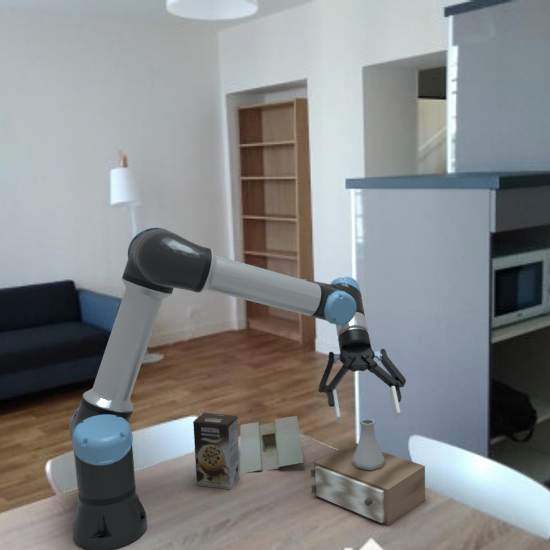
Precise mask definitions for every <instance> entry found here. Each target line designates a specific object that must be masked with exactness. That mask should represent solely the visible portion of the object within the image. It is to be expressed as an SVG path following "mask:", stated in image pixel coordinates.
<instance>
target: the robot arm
mask: <svg viewBox="0 0 550 550" xmlns="http://www.w3.org/2000/svg"><path fill="white" fill-rule="evenodd" d="M121 277H122V278H121V281H122V283H123V284H124V287H125V289H124V291H123V296H122V297H121V301H120V305H119V307H118V311H117V314H116V317H115V320H114V323H113V325H112V329H111V332H110V335H109V337H108V341H107V345H106V346H105V350H104V353H103V356H102V359H101V363H100V365H99V368H98V370H97V371H98V372H97V375H96V377H95V380H94V383H93V386H92V388H91V389H89V390H87V391H85V392H84V393H83V394H82V397H81V401H80V403H79V406H78V408H77V409H75V411H74V413H73V415H72V417H71V420H70V425H69V435H70V439H71V443H72V449H73V456H74V466H75V474H76V486H77V495H78V502H77V506H76V511H75V515H74V518H73V523H72V537H73V539H72V540H73V541H74V543H75V544H76V545H77V546H79V547H81V548H82V549H86V550H115V549H119V548H123V547H125V546H127V545H130V544H131V543H133V542H135V541H137V540H138V539H139V538H140V537H142V536H143V535H144V533H145V532H146V530H147V527H148V517H147V512H146V509H145V507H144V505H143V503H142V501H141V498H140V497H139V494H138V492H137V487H136V474H135V472H136V471H135V459H134V450H133V441H134V440H133V437H134V436H133V433H132V432H133V431H132V430H131V426H130V424H129V423H130V421H131V418H132V414H133V412H134V404H133V403H132V401H131V396H132V393H133V390H134V387H135V384H136V382H137V378H138V375H139V372H140V370H141V366H142V363H143V360H144V358H145V354H146V351H147V347H148V345H149V342H150V340H151V336H152V332H153V329H154V328H155V327H154V326H155V325H156V322H157V321H156V320H157V318H158V314H159V312H160V309H161V306H162V303H163V300H164V299H166V298H168V297H170V296H172V294H173V291H174V290H175V289H178V290H185V291H189V292H194V293H198V294H200V293H203V292H204V291H209V292H213V293H218V294H222V295H225V296H229V297H233V298H238V299H241V300H245V301H250V302H254V303H258V304H260V305H265V306H268V307H273V308H276V309H281V310H285V311H288V312H293V313H296V314H300V315H304V316H308V317H311V318H313V319H314V318H315V319H318V320H322V321H326V322H328V323H329V324H332V325H335V329H336V334H337V342H338V347H339V353H334V352H333V351H329V352H328V357H327V363H326V367H325V370H324V371H323V374H322V378H321V380H320V383H319V385H318V388H317V389H318V392H319V393H325V394H326V396H327V403H328V407H330V408H331V407H333V412H334V418H335V422H340V420H341V419H340V418H341V413H340V412H341V411H340V407H339V405H340V404H339V399H338V392H337V389H336V388H337V386H338V385H339V384H340V382H341V381H342V379H343V378H344V377H345V375H346V374H347V373H348V372H349V371H351V372H359V371H361V372H365V371H366V370H368V371H369V373H371V374H373V375H374V376H375V377H377V378H379V379H380V380H381V381H382V382H383V383H385V385H386V386H388V387H389V388H390V389H389V395H390V400H391V405H392V409H393V415H394V418H399V417H400V414H401V408H400V404H399V403H400V402H401V400H402V393H401V388H404V387H405V385H406V382H407V379H406V377H405V376H404V375H403V374H402V373H401V371H400V370H399V369H398V368H397V366H396V365H395V364H394V363H393V361H392V359H390V357H388V353H387V350H386V349H385V348H381V349H380V350H379V351H374V350H373V349H372V344H371V339H370V334H369V329H368V323H367V320H366V315H365V309H364V305H363V297H362V292H361V288H360V286H359V283H358V281H357V280H356V279H354V278H353V277H350V276H344V277H342V276H341V277H337V278H335V279H334V280H332V281H331V282H330V283H326V282H321V281H315V280H309V279H306V278H304V279H303V278H297V277H295V276H292V275H291V276H290V275H287V274H284V273H281V272H276V271H272V270H269V269H266V268H262V267H258V266H256V265H252V264H248V263H245V262H241V261H237V260H233V259H230V258H228V257H223V256H220V255H216V254H215V252H214V250H213V249H211V248H208V247H205V246H203V245H199V244H197V243H195V242H192V241H190V240H188V239H186V238H184V237H182V236H181V235H179V234H177V233H175V232H172V231H171V230H168V229H166V228H162V227H159V226H158V227H157V226H156V227H148V228H145V229H143V230H141V231H140V232H138V233H137V234H136V235H134V237H132V239H131V241H130V243H129V245H128V248H127V262H126V265H125V268H124V271H123V273H122V276H121ZM375 358H376V359H377V360H378V362H380V363H381V364H382V366H383V367H384V369H383V368H382V367H381V366H380V365H379V364H378V363H377V361H376V360H374V359H375ZM338 361H340V362H341V364H342V366H341V367H340V369H339V370H338V372H337V373H336V374H335V375H334V377H333V379H332V380H331V381H330V383H329V384H328V385H327V382H328V381H329V377H330V374H331V373H332V370H333V367H334V365H335V364H337V362H338ZM385 369H386V370H385Z"/></svg>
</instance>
